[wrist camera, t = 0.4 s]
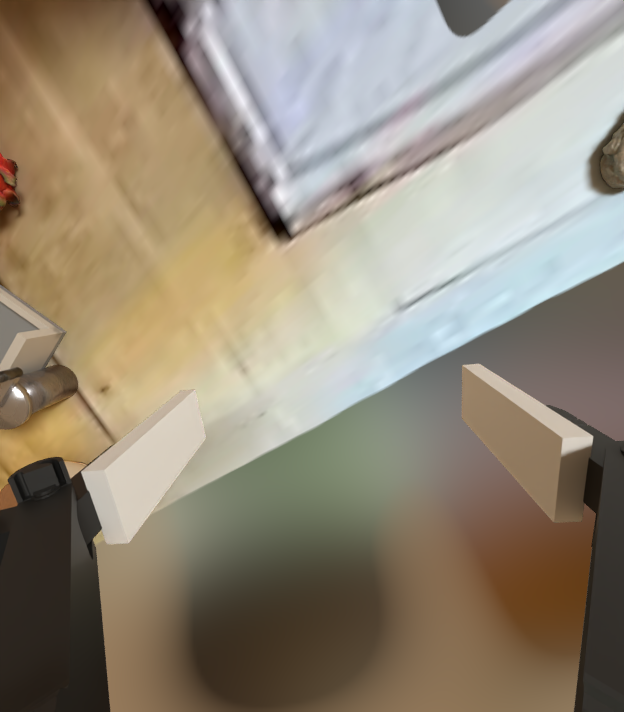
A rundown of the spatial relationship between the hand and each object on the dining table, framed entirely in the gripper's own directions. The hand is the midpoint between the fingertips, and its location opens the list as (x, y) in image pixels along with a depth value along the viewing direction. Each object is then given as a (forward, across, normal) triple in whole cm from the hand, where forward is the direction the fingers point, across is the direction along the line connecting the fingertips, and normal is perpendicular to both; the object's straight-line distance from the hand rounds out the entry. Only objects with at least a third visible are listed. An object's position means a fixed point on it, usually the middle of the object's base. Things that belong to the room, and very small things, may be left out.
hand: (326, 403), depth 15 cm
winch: (+26, -38, -4) cm, 47 cm away
